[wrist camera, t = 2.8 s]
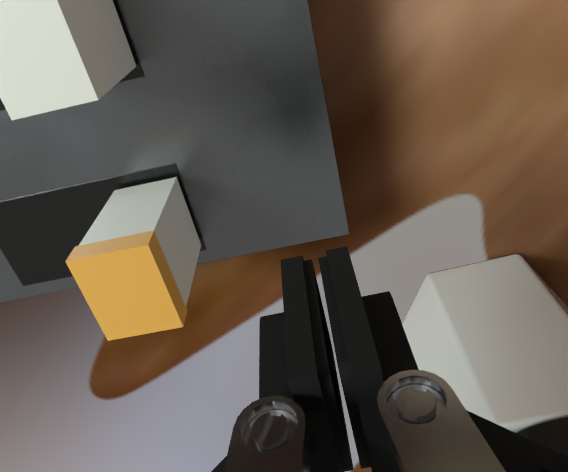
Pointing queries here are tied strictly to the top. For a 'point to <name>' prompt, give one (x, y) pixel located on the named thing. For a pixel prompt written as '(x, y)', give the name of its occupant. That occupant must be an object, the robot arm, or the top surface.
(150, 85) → the breaker panel
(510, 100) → the top surface
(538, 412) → the jar
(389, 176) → the top surface
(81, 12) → the paddle
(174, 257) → the paddle on
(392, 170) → the top surface
